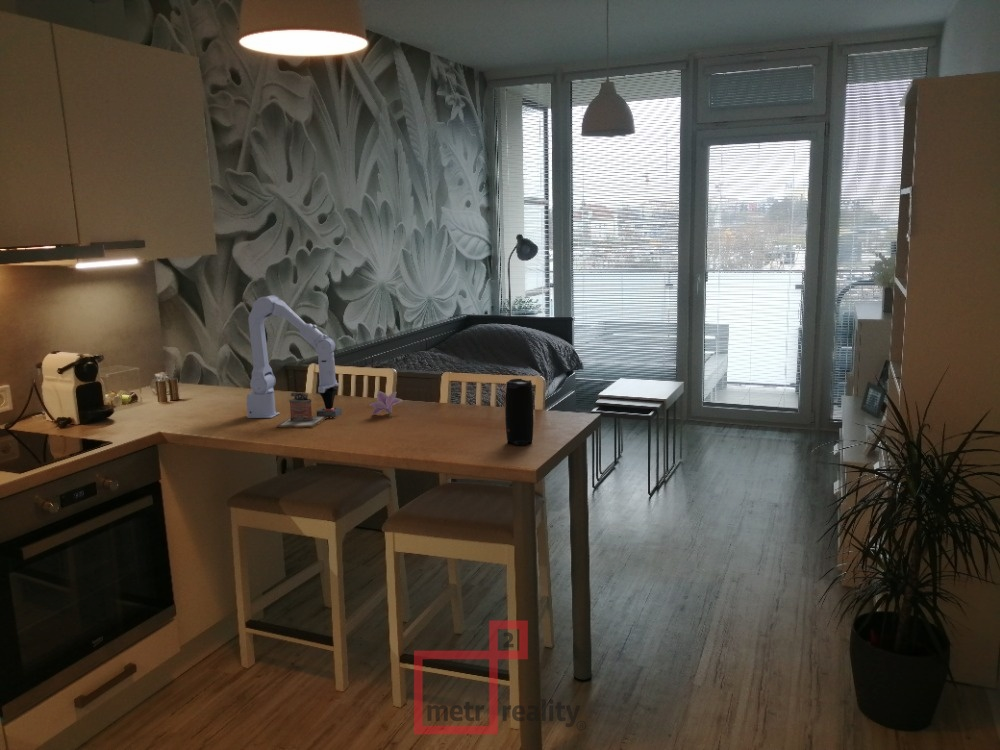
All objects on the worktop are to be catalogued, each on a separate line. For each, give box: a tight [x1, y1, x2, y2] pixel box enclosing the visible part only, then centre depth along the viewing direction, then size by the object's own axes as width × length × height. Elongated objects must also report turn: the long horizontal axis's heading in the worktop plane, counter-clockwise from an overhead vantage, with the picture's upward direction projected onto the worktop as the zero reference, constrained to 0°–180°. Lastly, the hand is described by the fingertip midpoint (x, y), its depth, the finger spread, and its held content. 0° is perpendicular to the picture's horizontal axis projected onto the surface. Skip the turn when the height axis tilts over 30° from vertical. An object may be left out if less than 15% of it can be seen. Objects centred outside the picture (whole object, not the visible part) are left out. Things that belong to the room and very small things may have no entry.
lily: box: [368, 390, 403, 419], centre depth 283 cm, size 12×12×10 cm
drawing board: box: [276, 415, 328, 428], centre depth 276 cm, size 13×15×1 cm
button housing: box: [316, 406, 343, 418], centre depth 286 cm, size 7×7×2 cm
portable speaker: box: [504, 378, 535, 447], centre depth 242 cm, size 9×9×20 cm
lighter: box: [288, 391, 313, 422], centre depth 276 cm, size 8×3×10 cm, turn 79°
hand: (329, 408), depth 286 cm, fingers closed, pressing on done button
